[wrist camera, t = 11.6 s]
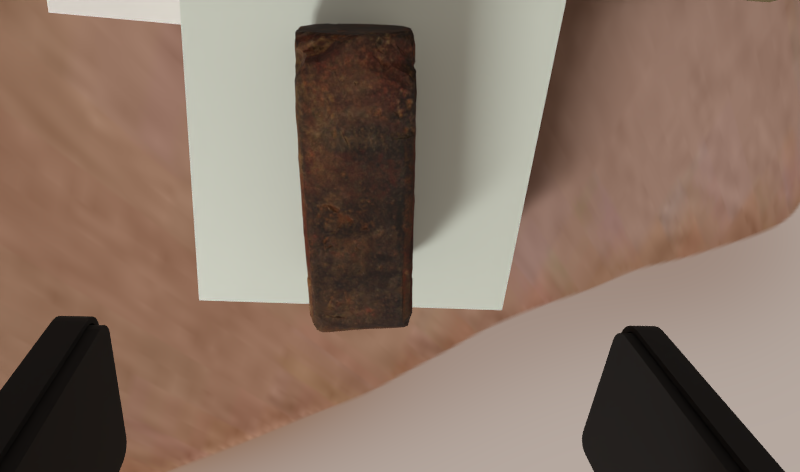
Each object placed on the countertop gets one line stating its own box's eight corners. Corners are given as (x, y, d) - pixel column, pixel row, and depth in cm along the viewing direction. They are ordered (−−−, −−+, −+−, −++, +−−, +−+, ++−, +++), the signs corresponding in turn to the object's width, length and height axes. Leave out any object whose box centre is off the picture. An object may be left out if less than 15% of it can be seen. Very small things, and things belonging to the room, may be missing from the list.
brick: (403, 271, 26) (415, 332, 21) (314, 274, 25) (309, 337, 21) (407, 20, 21) (423, 35, 17) (298, 20, 21) (287, 35, 16)
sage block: (212, -47, 25) (176, -48, 19) (522, -14, 26) (567, -7, 21) (224, 240, 31) (199, 300, 25) (475, 251, 32) (501, 310, 27)
